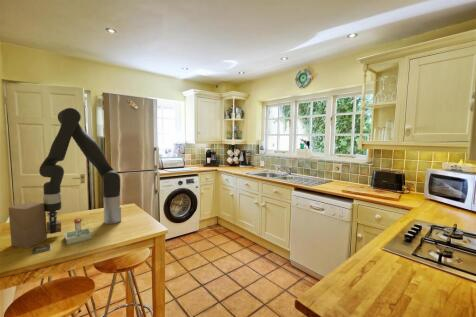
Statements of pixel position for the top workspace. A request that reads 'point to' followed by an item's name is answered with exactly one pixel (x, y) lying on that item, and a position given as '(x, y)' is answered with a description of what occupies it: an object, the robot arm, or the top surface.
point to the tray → (72, 238)
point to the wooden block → (27, 224)
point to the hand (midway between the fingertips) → (53, 231)
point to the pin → (77, 227)
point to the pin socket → (41, 249)
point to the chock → (58, 227)
